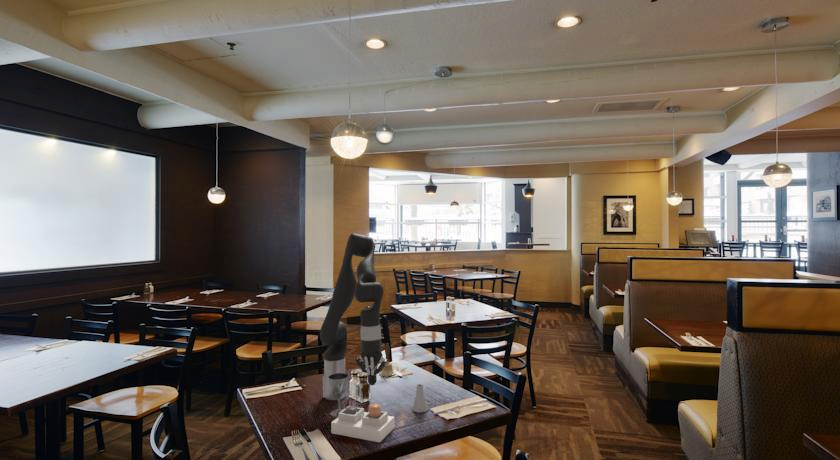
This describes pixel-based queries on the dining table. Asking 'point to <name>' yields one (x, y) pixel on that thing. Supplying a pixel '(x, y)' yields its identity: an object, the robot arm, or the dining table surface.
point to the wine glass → (338, 388)
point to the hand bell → (388, 367)
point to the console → (363, 425)
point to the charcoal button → (351, 410)
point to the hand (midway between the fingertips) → (372, 384)
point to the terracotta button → (374, 410)
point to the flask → (420, 400)
